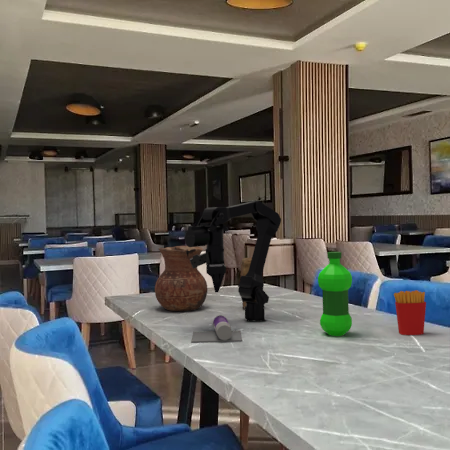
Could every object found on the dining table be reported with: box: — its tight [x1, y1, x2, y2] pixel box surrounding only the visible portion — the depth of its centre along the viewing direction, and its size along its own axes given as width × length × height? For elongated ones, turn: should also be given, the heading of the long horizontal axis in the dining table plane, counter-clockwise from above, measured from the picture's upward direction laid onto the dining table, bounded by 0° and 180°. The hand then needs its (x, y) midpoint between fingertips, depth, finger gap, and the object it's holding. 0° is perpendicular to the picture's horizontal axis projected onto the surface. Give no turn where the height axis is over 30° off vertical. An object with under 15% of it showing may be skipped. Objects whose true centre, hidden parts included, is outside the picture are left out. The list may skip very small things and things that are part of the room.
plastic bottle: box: [317, 251, 353, 337], centre depth 160 cm, size 10×10×25 cm
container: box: [212, 315, 233, 340], centre depth 161 cm, size 5×5×15 cm
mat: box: [190, 329, 243, 344], centre depth 161 cm, size 15×13×1 cm
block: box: [240, 257, 252, 310], centre depth 209 cm, size 11×8×20 cm
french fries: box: [393, 289, 427, 336], centre depth 159 cm, size 9×4×13 cm, turn 92°
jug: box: [154, 245, 209, 312], centre depth 212 cm, size 22×21×25 cm
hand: (216, 292), depth 174 cm, fingers closed
